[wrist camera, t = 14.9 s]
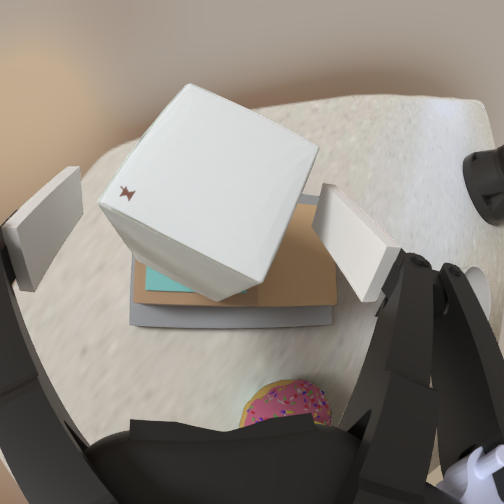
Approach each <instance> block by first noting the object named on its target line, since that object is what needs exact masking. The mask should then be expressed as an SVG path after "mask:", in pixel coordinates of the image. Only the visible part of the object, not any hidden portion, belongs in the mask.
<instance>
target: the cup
mask: <svg viewBox="0 0 504 504" xmlns="http://www.w3.org/2000/svg"><path fill="white" fill-rule="evenodd" d="M461 271H463V273H464V274H465V275H466V277H467V279H468V281H469V283H470V285H471V287H472V289H473V291H474V292H475V294H476V296H477V298H478V300H479V303H480V305H481V307H482V309H483V311H484V313H485V315H486V317H487V320H488V322H489V319H490V315H491V308H492V296H491V289H490V284H489V281H488V278H487V276H486V274H485V272H484V271H483V270H482V269H481V268H480V267H479V266H477V265H470V266H467V267H464V268H461ZM446 312H447V311H446Z"/></svg>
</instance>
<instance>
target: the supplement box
mask: <svg viewBox="0 0 504 504" xmlns="http://www.w3.org/2000/svg"><path fill="white" fill-rule="evenodd" d="M318 151H319V146H317V145H316V144H314V143H312V142H310V141H309V140H307V139H305V138H303V137H302V136H300V135H298V134H296V133H294V132H293V131H291V130H289V129H287V128H285V127H283V126H281V125H279V124H277V123H276V122H274V121H272V120H270V119H268V118H266V117H264V116H262V115H260V114H258V113H256V112H254V111H251V110H249V109H247V108H245V107H242V106H241V105H238V104H236V103H234V102H232V101H230V100H227V99H225V98H223V97H221V96H219V95H217V94H215V93H212V92H210V91H207V90H205V89H203V88H201V87H198V86H196V85H194V84H191V83H190V84H187V85H186V86H185V87H183V88H182V90H181V91H180V92H179V93H178V94H177V95H176V96H175V97H174V99H173V100H172V101H171V102H170V103H169V105H168V106H167V107H166V108H165V109H164V110H163V112H162V113H161V114H160V115H159V117H158V118H157V119H156V120H155V121H154V123H153V124H152V125H151V126H150V127H149V129H148V130H147V131H146V132H145V133H144V135H143V136H142V137H141V138H140V140H139V141H138V143H137V144H136V146H135V147H134V149H133V150H132V151H131V153H130V154H129V155H128V157H127V158H126V160H125V161H124V162H123V164H122V165H121V167H120V168H119V170H118V171H117V173H116V174H115V175H114V177H113V178H112V180H111V181H110V183H109V184H108V186H107V187H106V189H105V191H104V192H103V193H102V195H101V196H100V198H99V200H98V204H99V206H100V208H101V209H102V211H103V212H104V214H105V215H106V217H107V218H108V220H109V221H110V222H111V224H112V226H113V227H114V228H115V230H116V231H117V233H118V234H119V236H120V237H121V238H122V240H123V241H124V243H125V244H126V245H127V247H128V248H129V249H130V251H131V252H132V254H133V255H134V256H135V258H136V259H137V261H139V262H140V263H142V264H144V265H146V266H148V267H150V268H152V269H153V270H155V271H157V272H159V273H161V274H163V275H164V276H166V277H168V278H170V279H172V280H174V281H176V282H178V283H180V284H182V285H184V286H186V287H188V288H190V289H192V290H193V291H195V292H197V293H199V294H201V295H203V296H206V297H208V298H210V299H212V300H214V301H217V302H218V301H221V300H223V299H225V298H228V297H230V296H232V295H235V294H237V293H239V292H241V291H244V290H246V289H249V288H251V287H253V286H255V285H258V284H261V283H263V281H264V279H265V277H266V275H267V273H268V271H269V269H270V267H271V265H272V262H273V260H274V258H275V256H276V253H277V251H278V249H279V247H280V244H281V242H282V239H283V237H284V235H285V232H286V230H287V228H288V225H289V223H290V221H291V218H292V216H293V214H294V211H295V209H296V206H297V204H298V201H299V199H300V197H301V194H302V192H303V189H304V187H305V184H306V182H307V179H308V177H309V174H310V172H311V169H312V167H313V164H314V161H315V159H316V156H317V153H318Z"/></svg>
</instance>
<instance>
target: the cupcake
mask: <svg viewBox="0 0 504 504" xmlns="http://www.w3.org/2000/svg"><path fill="white" fill-rule="evenodd" d="M322 392H323V391H321V390H320V389H319V388H318V387H316V386H315V385H314V384H313V383H312V382H309V381H306V380H300V379H299V380H280V381H277V382H275V383H272V384H269V385H266V386H264V387H263V388H261V389H260V390H259V391H258V392H257V393H256V394H255V395H254V396H253V398H252V399H251V400H250V401H249V402H248V403H247V404H246V405H245V407H244V410H243V413H242V417H241V421H240V428H242V427H245V426H248V425H251V424H254V423H257V422H260V421H263V420H266V419H269V418H274V417H283V416H290V415H298V414H304V413H312V416H313V419H314V422H315V423H318V424H323V425H328V426H331V424H330V423H331V415H332V412H331V408H330V402H329V401H327V399H326V397H325V396H324V392H323V393H322Z"/></svg>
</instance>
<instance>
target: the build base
mask: <svg viewBox="0 0 504 504" xmlns="http://www.w3.org/2000/svg"><path fill="white" fill-rule="evenodd" d="M319 197H320V196H313V195H305V194H301V197H300V199H299V201H298V204H297V206H296V209H295V211H294V214H293V216H292V218H291V221H290V223H289V225H288V228H287V230H286V232H285V235H284V237H283V239H282V242H281V244H280V247H279V249H278V251H277V253H276V256H275V258H274V260H273V262H272V265H271V267H270V269H269V271H268V273H267V275H266V277H265V279H264V281H263V283H261V284H258V285H255V286H253V287H251V288H249V289H246V290H244V291H241V292H239V293H237V294H235V295H232V296H230V297H228V298H225V299H223V300H221V301H218V302H217V301H214V300H212V299H210V298H208V297H206V296H203V295H201V294H199V293H197V292H195V291H193V290H192V289H190V288H188V287H186V286H184V285H182V284H180V283H178V282H176V281H174V280H172V279H170V278H168V277H166V276H164V275H163V274H161V273H159V272H157V271H155V270H153V269H152V268H150V267H148V266H146V265H144V264H142V263H140V262H139V261H137V259H136V258H135V256H134V255H133V254H132V266H131V285H130V325H133V326H152V327H177V328H269V327H295V326H314V325H330V324H332V305H337V285H336V265H335V260H334V259H333V257H332V256H331V254H330V253H329V252H328V250H327V249H326V247H325V246H324V244H323V243H322V241H321V240H320V238H319V237H318V235H317V234H316V233H315V231H314V230H313V228H312V227H311V226H312V222H313V219H314V215H315V212H316V208H317V204H318V201H319Z"/></svg>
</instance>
